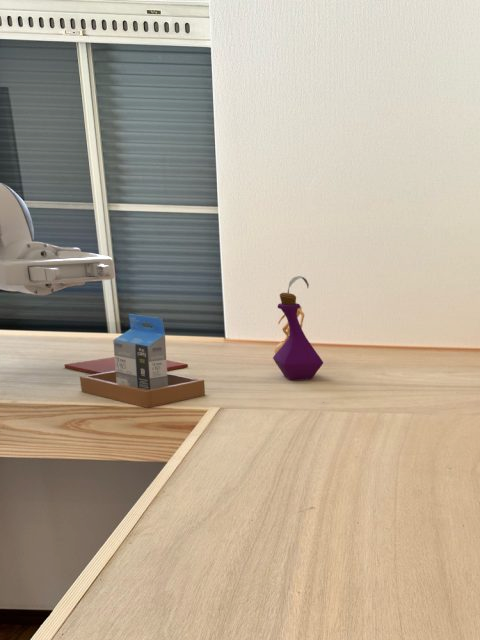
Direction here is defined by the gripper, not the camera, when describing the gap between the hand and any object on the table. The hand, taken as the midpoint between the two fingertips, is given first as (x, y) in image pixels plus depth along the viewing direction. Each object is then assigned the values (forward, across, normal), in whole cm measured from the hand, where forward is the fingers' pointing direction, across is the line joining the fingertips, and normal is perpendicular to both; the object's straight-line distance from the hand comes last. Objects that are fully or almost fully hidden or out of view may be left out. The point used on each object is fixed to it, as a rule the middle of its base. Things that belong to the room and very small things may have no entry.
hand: (82, 273), depth 120 cm
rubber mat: (-7, +12, +18) cm, 23 cm away
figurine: (+11, +38, +19) cm, 43 cm away
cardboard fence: (+13, 0, +18) cm, 22 cm away
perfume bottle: (+23, +26, +19) cm, 40 cm away
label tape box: (+13, 0, +18) cm, 22 cm away
